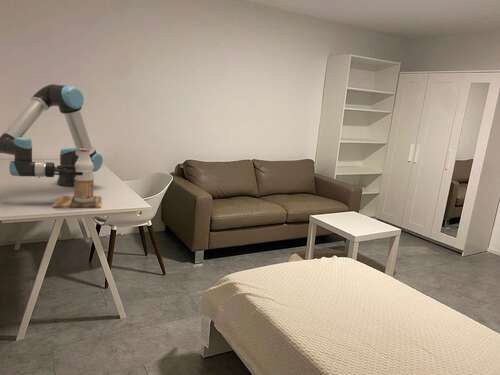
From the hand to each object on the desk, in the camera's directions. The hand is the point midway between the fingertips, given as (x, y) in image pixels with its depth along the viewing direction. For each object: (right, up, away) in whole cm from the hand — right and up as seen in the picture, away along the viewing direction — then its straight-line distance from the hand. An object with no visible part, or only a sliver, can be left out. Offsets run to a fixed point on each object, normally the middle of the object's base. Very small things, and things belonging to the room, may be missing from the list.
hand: (90, 171), depth 201 cm
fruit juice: (-4, -16, +2) cm, 17 cm away
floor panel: (-7, -17, +2) cm, 18 cm away
